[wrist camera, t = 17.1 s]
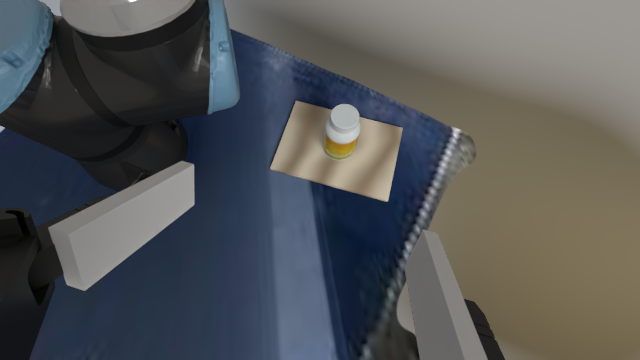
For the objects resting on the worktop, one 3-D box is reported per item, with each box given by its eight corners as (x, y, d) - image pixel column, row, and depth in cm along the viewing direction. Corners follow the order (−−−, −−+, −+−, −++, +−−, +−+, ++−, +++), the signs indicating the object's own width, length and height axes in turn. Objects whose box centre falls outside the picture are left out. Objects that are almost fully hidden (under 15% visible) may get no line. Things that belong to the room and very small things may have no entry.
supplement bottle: (319, 137, 44) (321, 102, 35) (349, 131, 45) (358, 95, 36) (327, 164, 42) (330, 136, 33) (357, 158, 43) (369, 128, 34)
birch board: (270, 169, 43) (270, 168, 42) (296, 102, 47) (296, 100, 47) (387, 201, 41) (388, 200, 41) (401, 129, 46) (402, 127, 45)
